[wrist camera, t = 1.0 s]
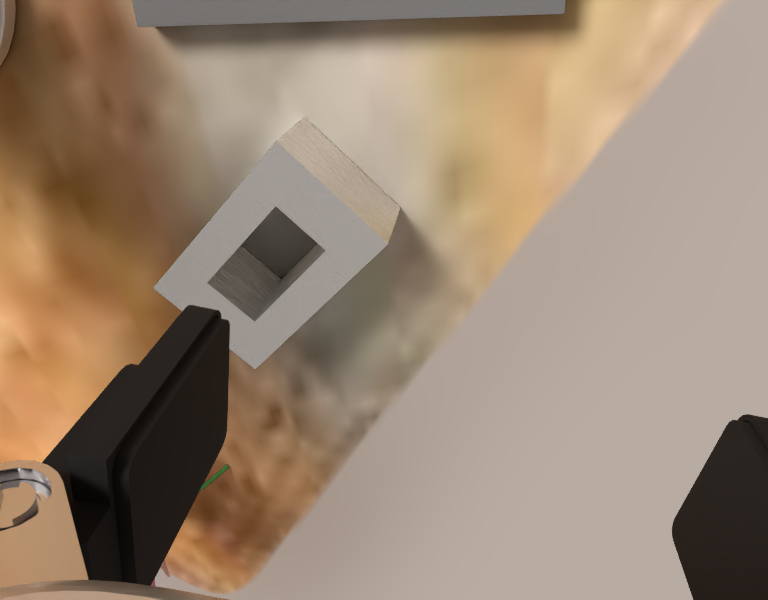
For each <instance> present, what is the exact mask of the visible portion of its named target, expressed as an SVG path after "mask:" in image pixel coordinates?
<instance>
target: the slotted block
mask: <svg viewBox="0 0 768 600" xmlns="http://www.w3.org/2000/svg"><path fill="white" fill-rule="evenodd" d="M275 206H276V207H277V208H278V209H279V210H280V211H282V212H283V213H284V214H285V215H286V216H287V217H288V218H290V219H291V220H292V221H293V222H294V223H295V224H296V225H297V226H299V227H300V228H301V229H302V230H303V231H304V232H305V233H306V234H308V235H309V236H310V237H311V238H312V239H313V240H314V241H316V242H317V244H316V245H315V246H314V247H313V248H312V249H311V250H310V251H309V252H308V253H307V254H306V255H305V256H304V257H303V258H302V259H301V260H300V261H299V262H298V263H297V264H296V265H295V266H294V267H293V268H292V269H291V270H290V271H289V273H288V274H287V275H286V276H285V277H284V278H283V279H282V280H281V279H280V278H279V277H278V276H277V275H275V274H274V273H273V272H272V271H271V270H270V269H268V268H267V267H266V266H265V265H264V264H263V263H261V262H260V261H259V260H258V259H257V258H255V257H254V256H253V255H252V254H251V253H250V252H248V251H247V250H246V249H245V248H244V247H243V246H241V244H242V243H243V242H244V241H245V240H246V239H247V238H248V237H249V235H250V234H251V233H252V232H253V231H254V230H255V229H256V228H257V227H258V225H259V224H260V223H261V222H262V221H263V220H264V219H265V218H266V216H267V215H268V214H269V213H270V212H271V211H272V210H273V209H274V208H275ZM399 211H400V207H399V206H398V205H397V204H396V203H395V202H394V201H393V200H392V199H391V198H390V197H389V196H388V195H387V194H386V193H385V192H383V191H382V190H381V189H380V188H379V187H378V186H377V185H376V184H375V183H374V182H373V181H372V180H371V179H370V178H369V177H368V176H366V175H365V174H364V173H363V172H362V171H361V170H360V169H359V168H358V167H357V166H356V165H355V164H354V163H353V162H352V161H351V160H350V159H348V158H347V157H346V156H345V155H344V154H343V153H342V152H341V151H340V150H339V149H338V148H337V147H336V146H335V145H334V144H333V143H332V142H330V141H329V140H328V139H327V138H326V137H325V136H324V135H323V134H322V133H321V132H320V131H319V130H318V129H317V128H316V127H315V126H313V125H312V124H311V123H310V122H309V121H308V120H307V119H306V118H305V117H303V118H302V119H301V120H300V121H299V122H298V123H296V124H295V125H294V126H293V127H292V128H291V129H290V130H288V131H287V132H286V133H285V134H284V135H283V136H282V137H280V138H279V139H278V140H277V141H276V142H275V143H274V144H273V146H272V147H271V148H270V149H269V150H268V152H267V153H266V154H265V155H264V156H263V158H262V159H261V160H260V161H259V162H258V164H257V165H256V166H255V167H254V168H253V169H252V171H251V172H250V173H249V174H248V175H247V177H246V178H245V179H244V180H243V181H242V183H241V184H240V185H239V186H238V187H237V189H236V190H235V191H234V192H233V193H232V194H231V196H230V197H229V198H228V199H227V200H226V202H225V203H224V204H223V205H222V206H221V208H220V209H219V210H218V211H217V212H216V214H215V215H214V216H213V217H212V218H211V219H210V221H209V222H208V223H207V224H206V225H205V227H204V228H203V229H202V230H201V231H200V233H199V234H198V235H197V236H196V237H195V239H194V240H193V241H192V242H191V243H190V245H189V246H188V247H187V248H186V249H185V250H184V252H183V253H182V254H181V255H180V256H179V258H178V259H177V260H176V261H175V262H174V264H173V265H172V266H171V267H170V268H169V270H168V271H167V272H166V273H165V274H164V275H163V277H162V278H161V279H160V280H159V281H158V283H157V284H156V285H155V286H154V287H153V289H155V290H156V291H157V292H158V293H160V294H161V295H162V296H163V297H165V298H166V299H167V300H168V301H170V302H171V303H172V304H174V305H175V306H176V307H177V308H179V309H180V310H181V311H183V310H184V309H185V308H186V307H187V306H188V305H195V306H200V307H205V308H210V309H215V310H219V311H220V313H221V319H226V320H228V321H229V323H230V343H229V349H230V350H231V351H233V352H234V353H235V354H236V355H238V356H239V357H240V358H241V359H243V360H244V361H245V362H246V363H248V364H249V365H250V366H251V367H253V368H254V369H256V368H257V367H258V366H260V365H261V364H262V363H263V362H264V361H265V360H266V359H267V358H268V357H269V356H270V355H271V354H272V353H273V352H274V351H275V350H276V349H278V348H279V347H280V346H281V345H282V344H283V343H284V342H285V341H286V340H287V339H288V338H289V337H290V336H291V335H292V334H293V333H295V332H296V331H297V330H298V329H299V328H300V327H301V326H302V325H303V324H304V323H305V322H306V321H307V320H308V319H309V318H310V317H311V316H313V315H314V314H315V313H316V312H317V311H318V310H319V309H320V308H321V307H322V306H323V305H324V304H325V303H326V302H327V301H328V300H330V299H331V298H332V297H333V296H334V295H335V294H336V293H337V292H338V291H339V290H340V289H341V288H342V287H343V286H344V285H345V284H346V283H348V282H349V281H350V280H351V279H352V278H353V277H354V276H355V275H356V274H357V273H358V272H359V271H360V270H361V269H362V268H363V267H365V266H366V265H367V264H368V263H369V262H370V261H371V260H372V259H373V258H374V257H375V256H376V255H377V254H378V253H379V252H380V251H381V250H383V249H384V248H385V247H386V246H387V245H388V244H389V241H390V238H391V235H392V232H393V229H394V226H395V223H396V220H397V217H398V214H399Z"/></svg>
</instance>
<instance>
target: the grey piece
mask: <svg viewBox="0 0 768 600" xmlns="http://www.w3.org/2000/svg"><path fill="white" fill-rule="evenodd" d="M132 2H133V7H134V12H135V17H136V21H137V26H138V27H159V26H191V25H223V24H255V23H287V22H319V21H351V20H383V19H415V18H447V17H479V16H511V15H543V14H564V11H565V0H132Z"/></svg>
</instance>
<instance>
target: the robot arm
mask: <svg viewBox="0 0 768 600" xmlns="http://www.w3.org/2000/svg"><path fill="white" fill-rule="evenodd" d="M15 13H16V5H15V0H0V66H1V64H2V63H3V61H4V59H5V57H6V55H7V54H8V51H9V48H10V44H11V41H12V37H13V34H14V25H15ZM229 343H230V323H229V321H228V320H226V319H221V313H220V311H219V310H215V309H210V308H205V307H200V306H195V305H188V306H187V307H186V308H185V309H184V310H183V311H182V313H181V314H180V315H179V316H178V318H177V319H176V320H175V321H174V322H173V324H172V325H171V326H170V327H169V329H168V330H167V331H166V332H165V333H164V335H163V336H162V337H161V338H160V340H159V341H158V342H157V343H156V344H155V346H154V347H153V348H152V349H151V350H150V352H149V353H148V354H147V355H146V357H145V358H144V359H143V360H142V361H141V363H140V364H139V365H134V364H129V365H126V366H125V367H124V368H123V369H122V370H121V371H120V372H119V373H118V374H117V375H116V377H115V378H114V379H113V380H112V381H111V382H110V384H109V385H108V386H107V387H106V388H105V389H104V391H103V392H102V393H101V394H100V395H99V397H98V398H97V399H96V400H95V401H94V402H93V404H92V405H91V406H90V407H89V408H88V409H87V411H86V412H85V413H84V414H83V415H82V416H81V418H80V419H79V420H78V421H77V422H76V423H75V425H74V426H73V427H72V428H71V429H70V431H69V432H68V433H67V434H66V435H65V436H64V438H63V439H62V440H61V441H60V442H59V443H58V445H57V446H56V447H55V448H54V449H53V450H52V452H51V453H50V454H49V455H48V456H47V457H46V459H45V460H44V461H43V462H42V463H40V462H36V461H25V460H16V461H11V462H5V463H0V600H227V599H221V598H217V597H212V596H206V595H201V594H195V593H191V592H185V591H180V590H174V589H169V588H162V587H155V586H151V584H152V582H153V580H154V579H155V576H156V574H157V573H158V571H159V569H160V567H161V565H162V563H163V561H164V559H165V557H166V555H167V553H168V551H169V549H170V547H171V545H172V543H173V542H174V540H175V538H176V536H177V534H178V532H179V530H180V528H181V526H182V524H183V522H184V520H185V518H186V516H187V514H188V512H189V510H190V508H191V506H192V505H193V503H194V501H195V499H196V497H197V495H198V493H199V491H200V489H201V487H202V485H203V483H204V481H205V479H206V477H207V475H208V473H209V471H210V469H211V468H212V466H213V464H214V462H215V460H216V458H217V456H218V454H219V452H220V450H221V448H222V446H223V443H224V440H225V437H226V432H227V413H228V378H229ZM672 536H673V541H674V544H675V547H676V550H677V552H678V555H679V559H680V561H681V564H682V567H683V570H684V573H685V576H686V579H687V582H688V585H689V588H690V591H691V594H692V597H693V600H768V418H763V417H758V416H753V415H748V414H747V415H743V416H742V417H740V418H739V419H738V420H732V421H731V422H729V423H728V425H727V426H726V428H725V430H724V431H723V433H722V435H721V437H720V439H719V440H718V442H717V444H716V446H715V447H714V449H713V451H712V453H711V455H710V457H709V458H708V460H707V462H706V463H705V465H704V467H703V469H702V471H701V472H700V475H699V476H698V478H697V480H696V481H695V483H694V485H693V487H692V488H691V490H690V492H689V494H688V496H687V497H686V499H685V501H684V503H683V505H682V506H681V508H680V510H679V512H678V514H677V515H676V517H675V519H674V522H673V526H672Z"/></svg>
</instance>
